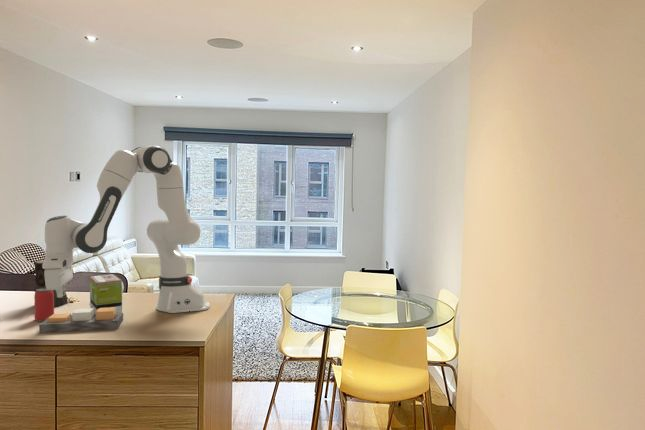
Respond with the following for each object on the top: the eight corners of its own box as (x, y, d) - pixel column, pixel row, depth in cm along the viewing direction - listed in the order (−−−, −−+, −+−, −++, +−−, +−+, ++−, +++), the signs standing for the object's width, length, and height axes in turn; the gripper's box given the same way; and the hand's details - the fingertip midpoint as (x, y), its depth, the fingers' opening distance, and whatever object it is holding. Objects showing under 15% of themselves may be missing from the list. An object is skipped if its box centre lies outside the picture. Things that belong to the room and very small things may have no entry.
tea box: (89, 310, 198) (88, 275, 198) (114, 306, 204) (114, 273, 204) (96, 318, 186) (96, 281, 186) (122, 314, 192) (122, 279, 192)
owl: (49, 310, 197) (48, 263, 196) (22, 308, 199) (21, 262, 198) (69, 303, 210) (69, 259, 209) (44, 301, 211) (43, 258, 210)
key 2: (116, 315, 181) (116, 307, 180) (113, 320, 175) (113, 311, 175) (99, 316, 179) (99, 307, 179) (96, 320, 173) (96, 311, 173)
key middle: (93, 316, 179) (93, 308, 178) (90, 321, 173) (90, 312, 173) (76, 317, 177) (76, 308, 177) (72, 322, 171) (72, 312, 171)
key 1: (71, 322, 177) (70, 313, 176) (66, 326, 171) (66, 317, 171) (53, 322, 175) (53, 314, 175) (48, 327, 169) (48, 318, 169)
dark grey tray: (123, 320, 184) (123, 312, 184) (117, 328, 172) (117, 320, 172) (50, 323, 178) (50, 315, 177) (39, 333, 166) (39, 324, 166)
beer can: (34, 322, 179) (33, 291, 178) (35, 318, 185) (35, 288, 184) (53, 320, 182) (53, 290, 181) (54, 316, 188) (54, 286, 187)
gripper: (58, 255, 181) (60, 290, 182) (40, 265, 162) (42, 304, 163) (76, 255, 183) (77, 289, 184) (60, 264, 163) (62, 303, 164)
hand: (61, 296), depth 173 cm, fingers closed
